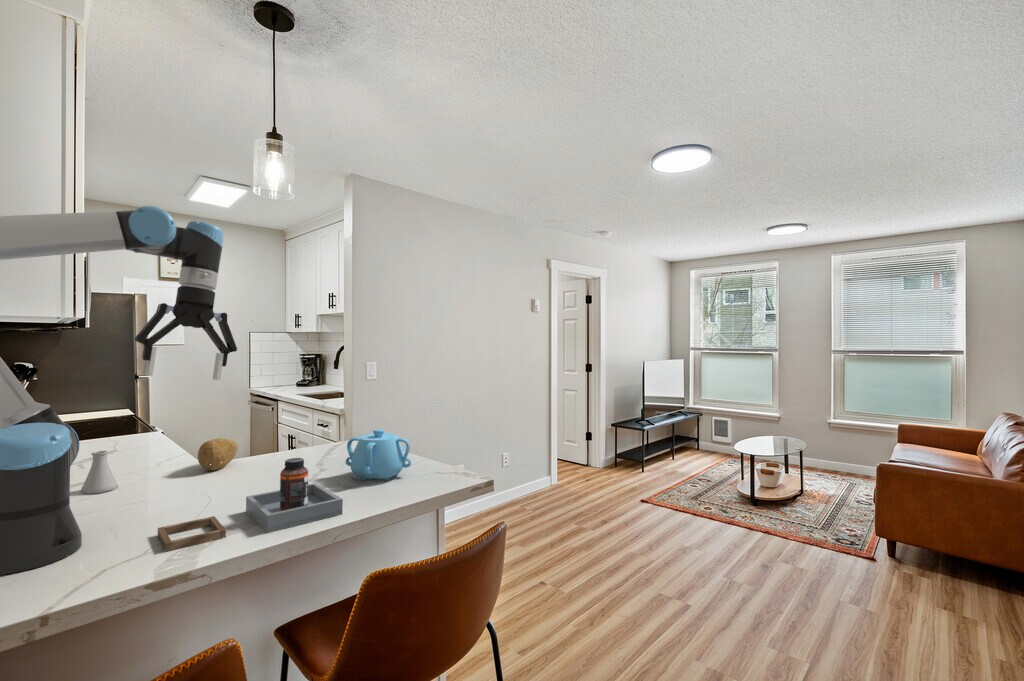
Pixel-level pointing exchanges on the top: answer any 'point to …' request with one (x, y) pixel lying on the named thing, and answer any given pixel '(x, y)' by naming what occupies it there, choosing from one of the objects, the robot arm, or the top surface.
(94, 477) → the flask
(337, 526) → the top surface
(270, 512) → the tray
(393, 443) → the decorative pot
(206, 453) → the potato
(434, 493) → the top surface
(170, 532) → the rectangular wooden frame
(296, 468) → the supplement bottle
